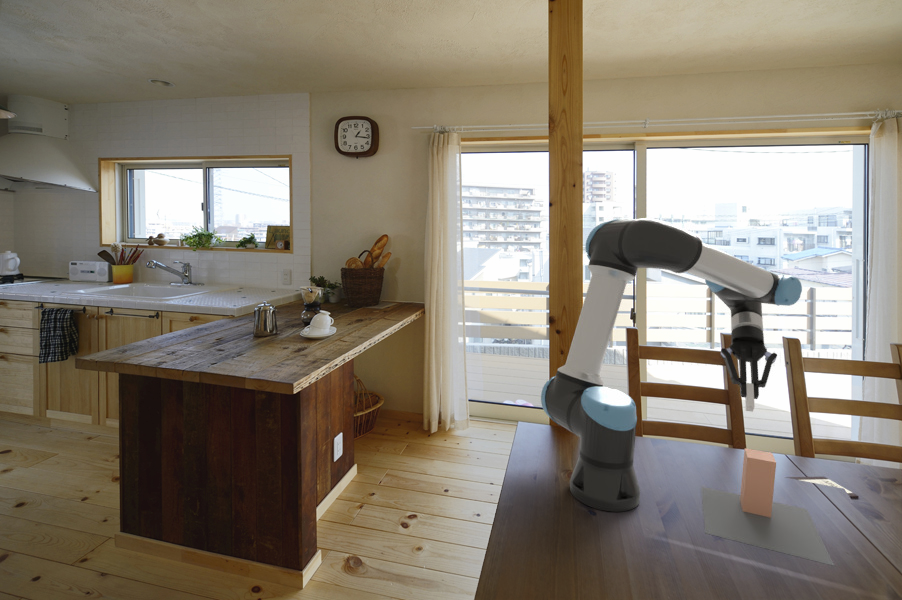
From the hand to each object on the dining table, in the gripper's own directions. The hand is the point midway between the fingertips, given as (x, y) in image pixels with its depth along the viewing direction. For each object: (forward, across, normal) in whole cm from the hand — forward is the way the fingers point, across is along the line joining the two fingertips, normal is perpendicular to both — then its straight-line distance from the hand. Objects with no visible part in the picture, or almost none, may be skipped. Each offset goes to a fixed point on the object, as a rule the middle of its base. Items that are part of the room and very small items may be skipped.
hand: (750, 408), depth 114 cm
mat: (+29, 0, +6) cm, 30 cm away
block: (+25, 0, +3) cm, 25 cm away
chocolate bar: (+14, -12, -10) cm, 21 cm away
